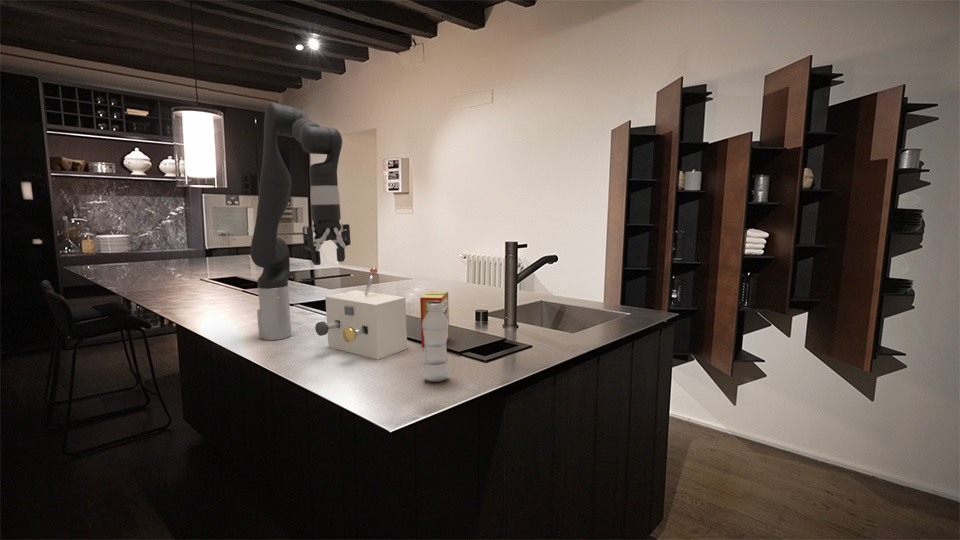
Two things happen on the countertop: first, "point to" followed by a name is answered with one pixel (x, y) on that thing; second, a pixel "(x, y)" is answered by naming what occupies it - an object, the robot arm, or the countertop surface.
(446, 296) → the baking soda box
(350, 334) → the brass plunger
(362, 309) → the console
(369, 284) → the toggle lever
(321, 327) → the black plunger
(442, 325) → the plastic bottle
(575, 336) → the countertop surface
